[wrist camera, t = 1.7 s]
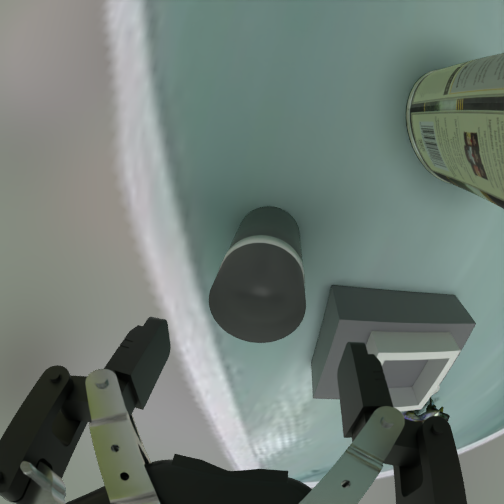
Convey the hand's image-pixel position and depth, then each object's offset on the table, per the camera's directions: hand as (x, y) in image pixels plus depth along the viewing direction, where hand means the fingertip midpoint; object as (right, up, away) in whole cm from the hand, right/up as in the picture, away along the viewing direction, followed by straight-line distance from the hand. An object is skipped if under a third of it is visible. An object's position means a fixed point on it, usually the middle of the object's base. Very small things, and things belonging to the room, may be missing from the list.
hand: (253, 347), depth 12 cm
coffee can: (+17, +15, +6) cm, 23 cm away
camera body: (+14, -4, +14) cm, 20 cm away
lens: (+1, +5, +12) cm, 13 cm away
